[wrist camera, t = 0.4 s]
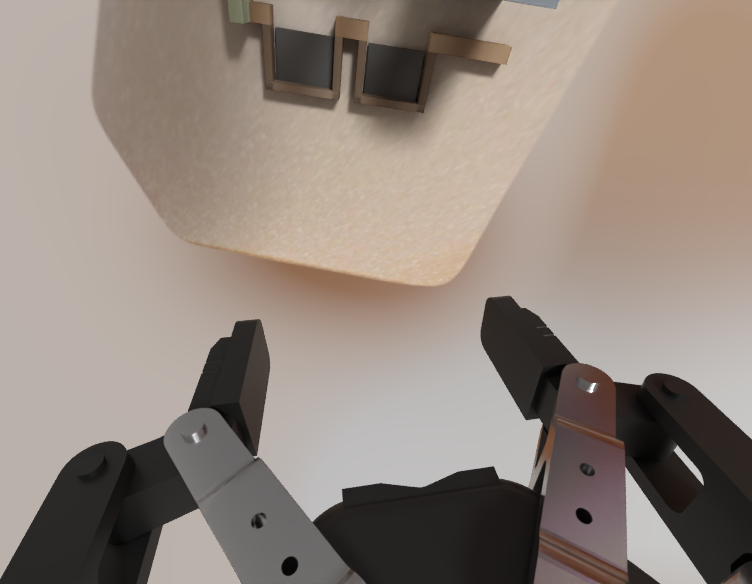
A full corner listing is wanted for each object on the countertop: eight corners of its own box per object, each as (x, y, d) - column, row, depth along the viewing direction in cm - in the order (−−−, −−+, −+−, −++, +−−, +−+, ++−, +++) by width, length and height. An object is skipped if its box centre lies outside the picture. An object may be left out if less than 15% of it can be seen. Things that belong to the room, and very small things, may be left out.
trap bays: (434, 50, 30) (436, 53, 29) (422, 109, 33) (423, 112, 32) (265, 22, 28) (262, 23, 28) (269, 85, 31) (265, 88, 30)
